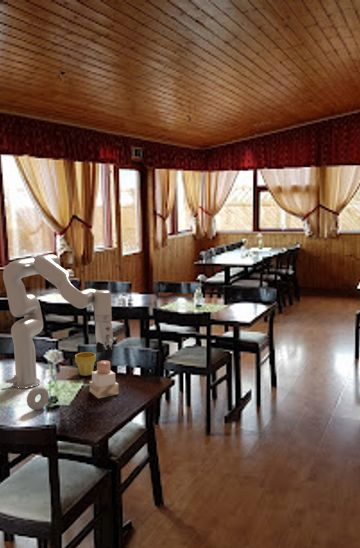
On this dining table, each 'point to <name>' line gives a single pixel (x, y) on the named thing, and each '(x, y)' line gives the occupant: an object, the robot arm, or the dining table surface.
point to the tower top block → (103, 379)
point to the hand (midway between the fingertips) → (104, 354)
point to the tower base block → (104, 390)
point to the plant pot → (85, 362)
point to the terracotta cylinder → (103, 367)
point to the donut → (32, 396)
